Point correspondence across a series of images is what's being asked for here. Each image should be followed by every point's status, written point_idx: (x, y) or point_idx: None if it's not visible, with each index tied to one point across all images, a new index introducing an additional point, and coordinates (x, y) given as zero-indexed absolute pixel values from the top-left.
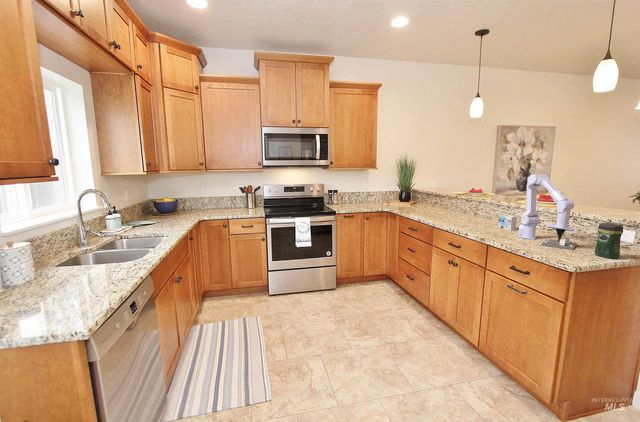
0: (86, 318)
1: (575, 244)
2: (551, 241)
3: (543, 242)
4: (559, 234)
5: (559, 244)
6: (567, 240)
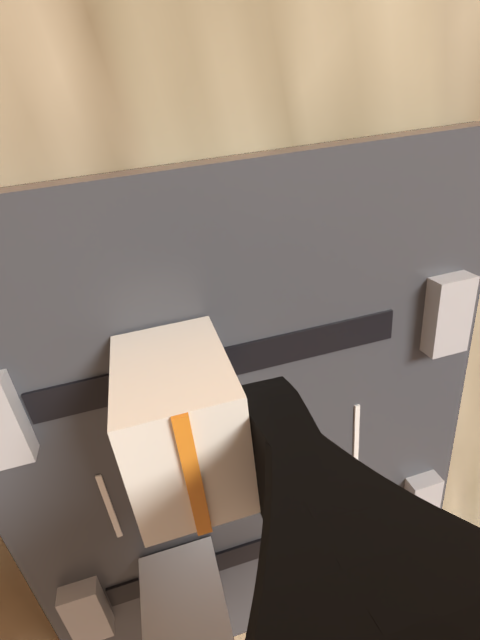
0: None
1: (40, 600)
2: (373, 467)
3: (477, 272)
4: (364, 525)
5: None
6: (166, 609)
